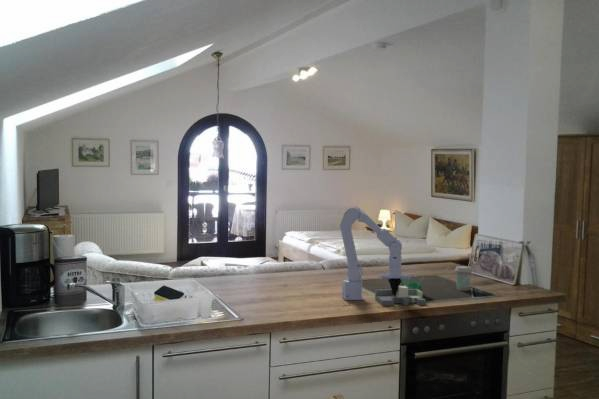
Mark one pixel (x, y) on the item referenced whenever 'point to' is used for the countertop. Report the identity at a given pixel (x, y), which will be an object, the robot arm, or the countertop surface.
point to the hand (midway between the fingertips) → (394, 294)
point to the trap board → (389, 299)
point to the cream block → (402, 291)
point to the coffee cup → (463, 277)
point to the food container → (413, 282)
